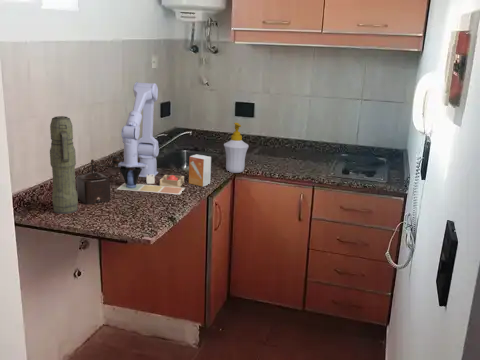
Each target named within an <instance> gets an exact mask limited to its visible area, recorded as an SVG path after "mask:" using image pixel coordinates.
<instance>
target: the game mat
mask: <svg viewBox="0 0 480 360" xmlns="http://www.w3.org/2000/svg"><path fill="white" fill-rule="evenodd" d="M185 189H186V187H182V186H181V187H168V186H160V185H153V184H142V183H137V184H136V188H127V187H126V184H125V182H124V183H122V184H121V185H120V186H119V187H118V188H116V190H119V191H131V192H132V191H133V192H145V193H157V194H168V195H169V194H170V195H177V196H180V195H182V193H183V192H184V190H185ZM182 191H183V192H182Z"/></svg>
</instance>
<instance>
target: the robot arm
mask: <svg viewBox="0 0 480 360" xmlns="http://www.w3.org/2000/svg"><path fill="white" fill-rule="evenodd" d="M132 90H133V95H134V97H135V99H134V101H133V109H132V110H131V111H130V112H129V113H128V116H127V120H126V122H125V125H124V126H123V127H122V129H121V133H120V135H121V136H120V137H121V138H122V139H121V140H122V144H123V161H121V162H120V163H119V164H118V168H119V171H120V173H121V175H122V177H123V179H124V183H125V184H127V173H128V171H130V170H129V169H132V171H133V172H134V185H136V184H138V180H139V177H141V178H146V175H148V174H154V176H155V177H156V176H157V175H158V174H159V171H158V170H157V169H158V168H157V167H158V165H157V157H158V156H159V152H160V147H159V141H158V139H156V138H155V137H154V133H153V132H154V112H155V111H154V109H155V102H157V101H158V97H159V96H158V95H159V88H158V85H157V83H155V82H154V83H151V82H139V81H136V82H135V83H134V84H133V89H132ZM141 123H142V134H141V137H140V133H141V127H140V125H141ZM138 161H139V162H138Z"/></svg>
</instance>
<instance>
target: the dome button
mask: <svg viewBox="0 0 480 360" xmlns="http://www.w3.org/2000/svg"><path fill="white" fill-rule="evenodd" d="M169 175H170V176H169V177H167V178H166V180H177V181H178V178H177V177H175V176H174V175H173V174H169Z"/></svg>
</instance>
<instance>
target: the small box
mask: <svg viewBox="0 0 480 360" xmlns="http://www.w3.org/2000/svg"><path fill="white" fill-rule="evenodd" d="M188 159H189V160H188V161H189V163H188V184H190V185H194V186H199V187H203V188H204V187H205V186H208V184H209V185H210V184H211V175H212V174H211V171H212V168H211V167H212V156H210V155H209V156H207V155H203V154H197V153H196V154H192V155H190V156H189V158H188Z"/></svg>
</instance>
